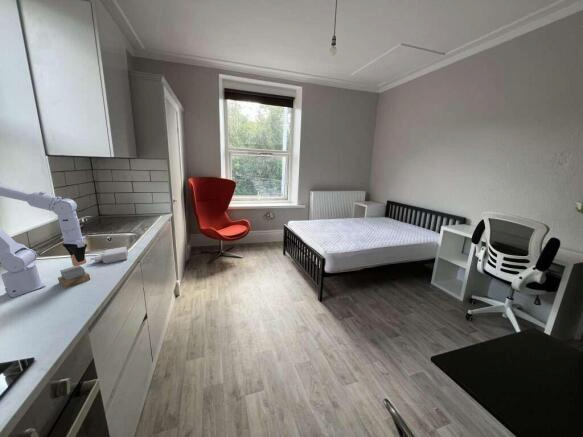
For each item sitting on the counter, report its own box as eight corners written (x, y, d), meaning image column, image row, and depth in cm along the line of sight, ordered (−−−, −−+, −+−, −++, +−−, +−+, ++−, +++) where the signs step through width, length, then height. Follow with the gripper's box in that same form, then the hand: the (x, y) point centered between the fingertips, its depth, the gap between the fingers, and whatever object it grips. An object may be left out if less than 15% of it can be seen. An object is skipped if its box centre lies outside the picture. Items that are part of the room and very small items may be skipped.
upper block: (67, 280, 97) (65, 274, 96) (62, 277, 100) (60, 270, 100) (85, 274, 102) (83, 268, 101) (80, 271, 105) (78, 264, 104)
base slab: (66, 289, 97) (64, 282, 96) (59, 284, 101) (57, 277, 100) (90, 280, 103) (89, 274, 102) (83, 275, 107) (81, 269, 107)
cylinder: (75, 266, 99) (72, 257, 98) (71, 264, 101) (68, 255, 100) (88, 262, 102) (86, 253, 101) (84, 260, 105) (81, 251, 104)
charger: (92, 260, 123) (128, 254, 130) (89, 267, 115) (127, 260, 123) (90, 252, 121) (126, 245, 129) (87, 258, 114) (125, 251, 121)
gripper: (90, 229, 97) (97, 260, 101) (76, 224, 105) (83, 253, 108) (67, 233, 92) (76, 266, 95) (54, 228, 99) (62, 258, 102)
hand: (78, 259), depth 101 cm, fingers closed on cylinder, 4 cm apart
